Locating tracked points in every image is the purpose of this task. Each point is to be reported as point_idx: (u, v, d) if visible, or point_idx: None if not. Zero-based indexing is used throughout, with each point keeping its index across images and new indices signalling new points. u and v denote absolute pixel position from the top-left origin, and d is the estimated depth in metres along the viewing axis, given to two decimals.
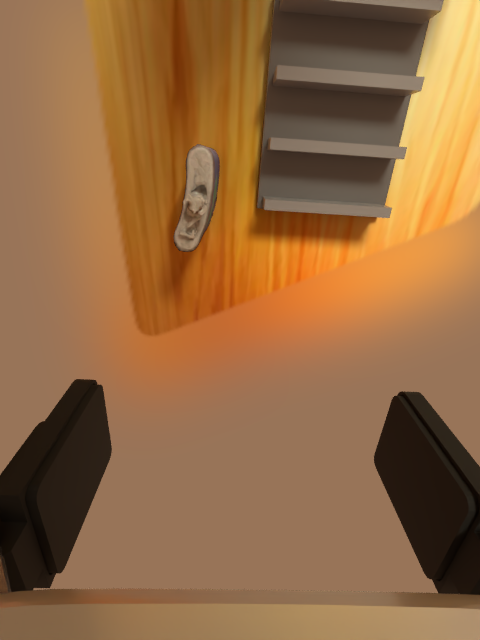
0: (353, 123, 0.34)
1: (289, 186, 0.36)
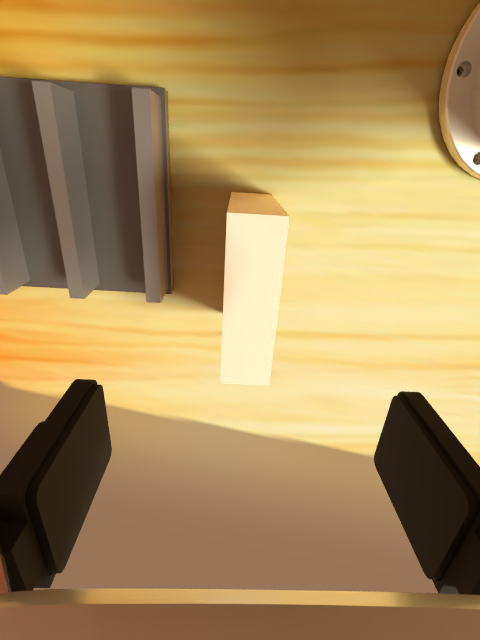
0: (43, 223, 0.25)
1: None
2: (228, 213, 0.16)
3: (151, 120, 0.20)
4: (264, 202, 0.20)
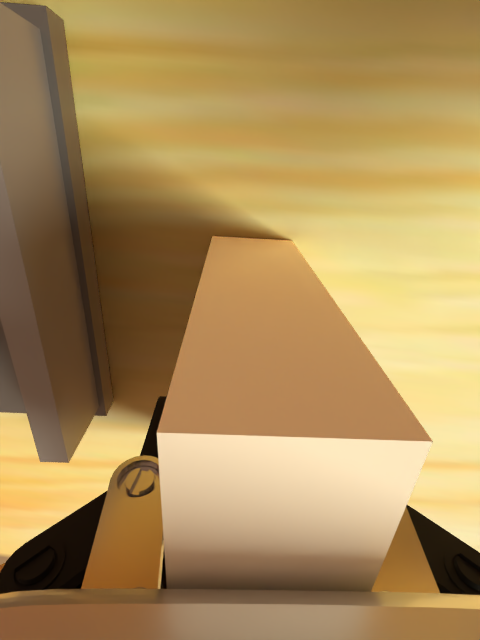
0: None
1: None
2: (164, 434, 0.04)
3: None
4: (288, 287, 0.08)
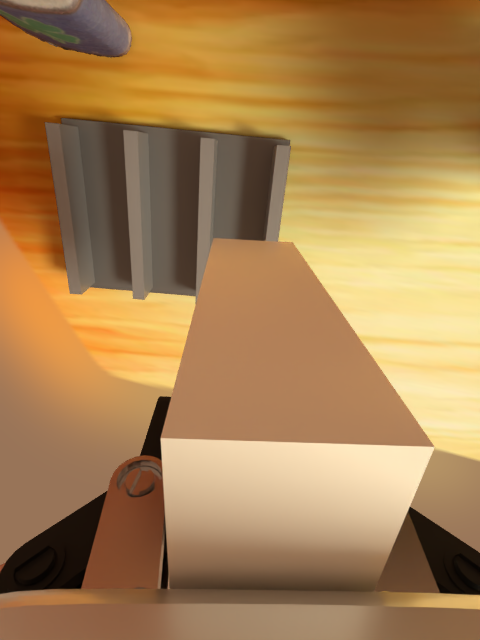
0: (172, 242, 0.30)
1: (96, 167, 0.28)
2: (168, 440, 0.04)
3: (287, 169, 0.25)
4: (290, 290, 0.08)
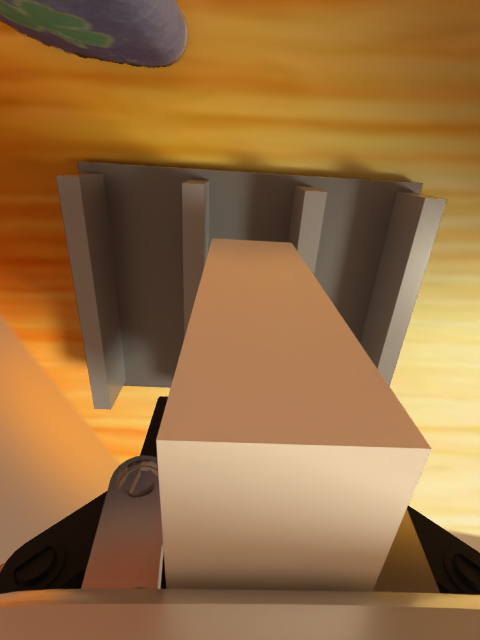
0: None
1: (131, 229, 0.19)
2: (164, 441, 0.04)
3: (434, 232, 0.16)
4: (288, 290, 0.08)
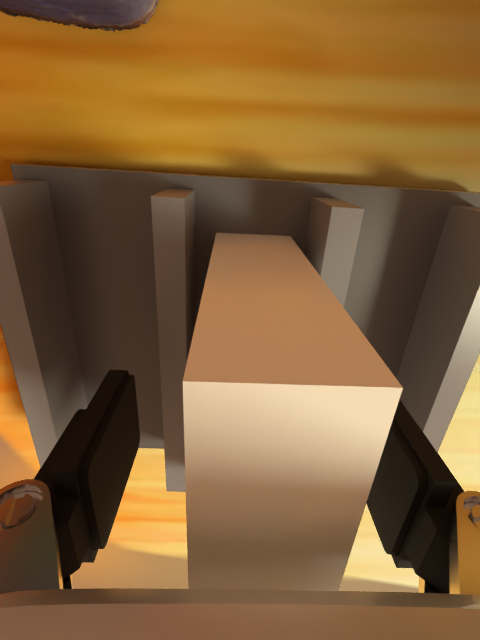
0: None
1: (90, 255, 0.14)
2: (188, 383, 0.05)
3: None
4: (287, 275, 0.09)
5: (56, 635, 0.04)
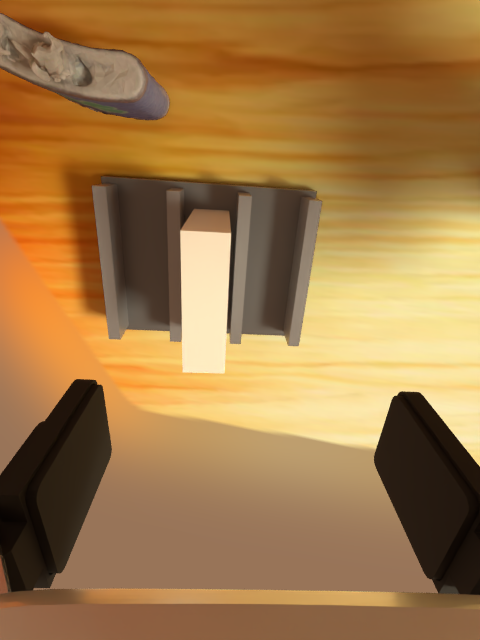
0: None
1: (134, 219, 0.29)
2: (181, 231, 0.20)
3: None
4: (217, 219, 0.24)
5: (56, 635, 0.04)
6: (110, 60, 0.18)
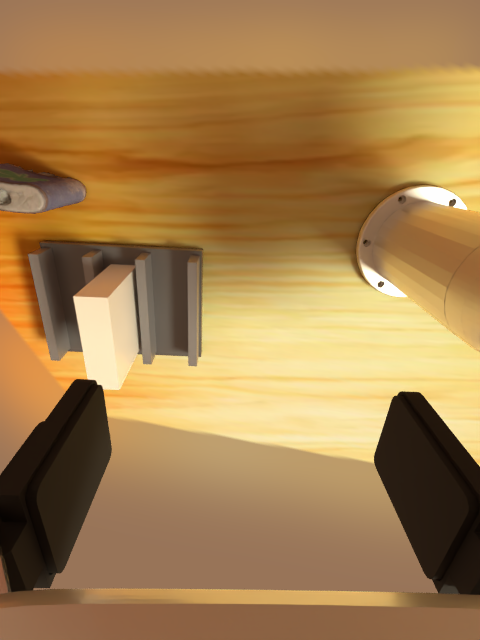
0: None
1: (66, 272, 0.39)
2: (74, 296, 0.30)
3: (196, 276, 0.36)
4: (114, 279, 0.34)
5: (56, 635, 0.04)
6: (21, 190, 0.28)
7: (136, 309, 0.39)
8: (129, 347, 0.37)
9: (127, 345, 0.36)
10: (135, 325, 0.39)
